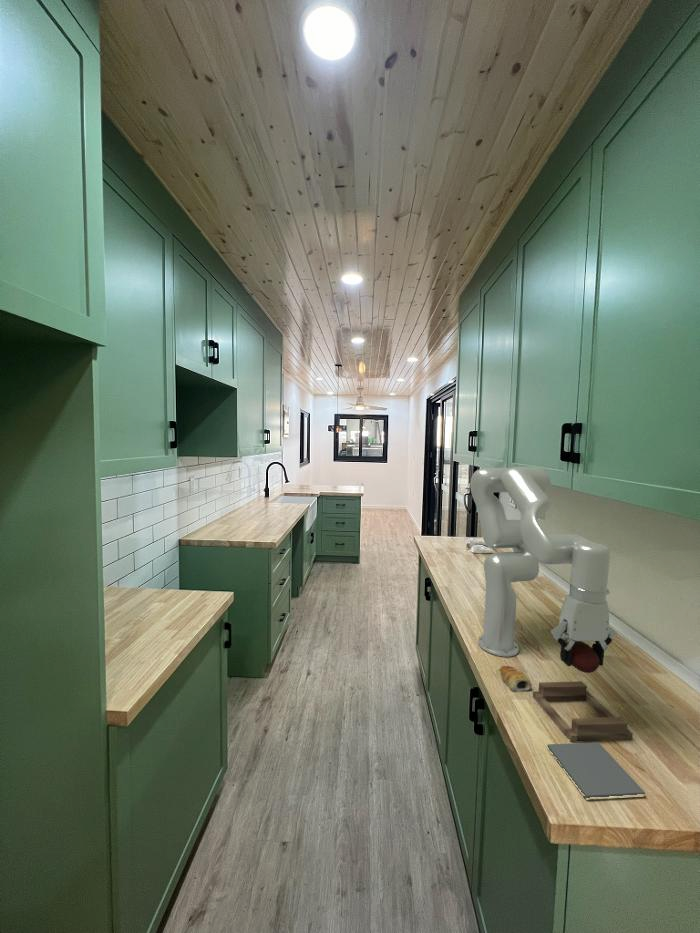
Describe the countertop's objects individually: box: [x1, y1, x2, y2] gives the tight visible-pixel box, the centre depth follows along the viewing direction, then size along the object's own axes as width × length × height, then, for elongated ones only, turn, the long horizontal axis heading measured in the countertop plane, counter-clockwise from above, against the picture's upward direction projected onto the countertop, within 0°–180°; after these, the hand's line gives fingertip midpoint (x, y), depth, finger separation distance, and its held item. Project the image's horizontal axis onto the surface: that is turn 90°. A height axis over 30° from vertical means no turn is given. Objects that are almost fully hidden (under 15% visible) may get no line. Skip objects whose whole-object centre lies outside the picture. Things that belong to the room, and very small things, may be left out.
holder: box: [532, 681, 634, 743], centre depth 93 cm, size 15×15×4 cm
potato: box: [570, 641, 600, 674], centre depth 92 cm, size 8×9×6 cm
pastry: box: [499, 665, 532, 692], centre depth 106 cm, size 9×7×4 cm
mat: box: [547, 741, 646, 798], centre depth 77 cm, size 12×12×1 cm
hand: (581, 662), depth 92 cm, fingers closed on potato, 7 cm apart
